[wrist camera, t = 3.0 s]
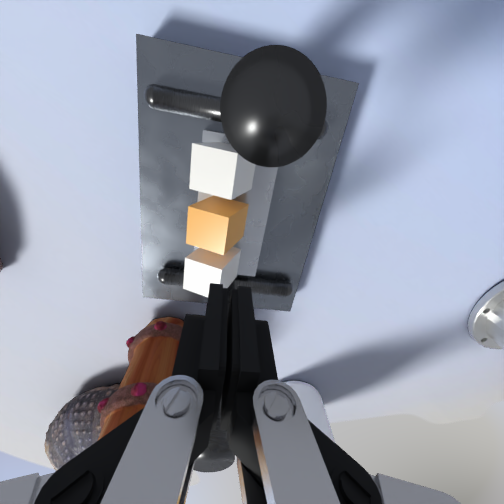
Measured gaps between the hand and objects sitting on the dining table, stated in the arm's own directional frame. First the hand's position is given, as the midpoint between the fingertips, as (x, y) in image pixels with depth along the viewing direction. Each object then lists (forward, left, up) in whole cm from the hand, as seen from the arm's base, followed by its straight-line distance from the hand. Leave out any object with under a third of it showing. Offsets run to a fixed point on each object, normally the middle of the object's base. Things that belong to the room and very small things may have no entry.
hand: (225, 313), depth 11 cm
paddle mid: (0, 0, -13) cm, 13 cm away
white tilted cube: (0, -4, -13) cm, 13 cm away
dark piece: (0, 0, -17) cm, 17 cm away
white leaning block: (0, +4, -13) cm, 13 cm away
